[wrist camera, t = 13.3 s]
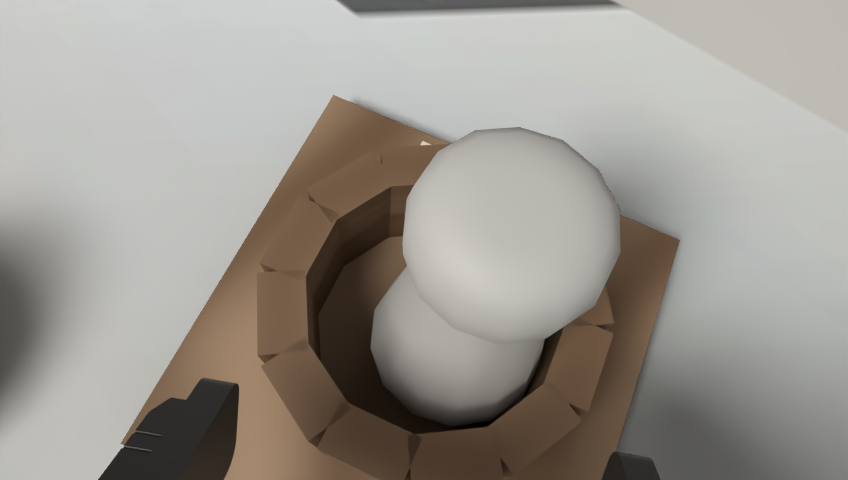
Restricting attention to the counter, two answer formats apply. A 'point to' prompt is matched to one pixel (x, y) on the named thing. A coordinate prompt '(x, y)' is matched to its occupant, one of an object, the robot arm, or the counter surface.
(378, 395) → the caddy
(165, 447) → the robot arm
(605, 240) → the salt shaker
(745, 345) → the counter surface
